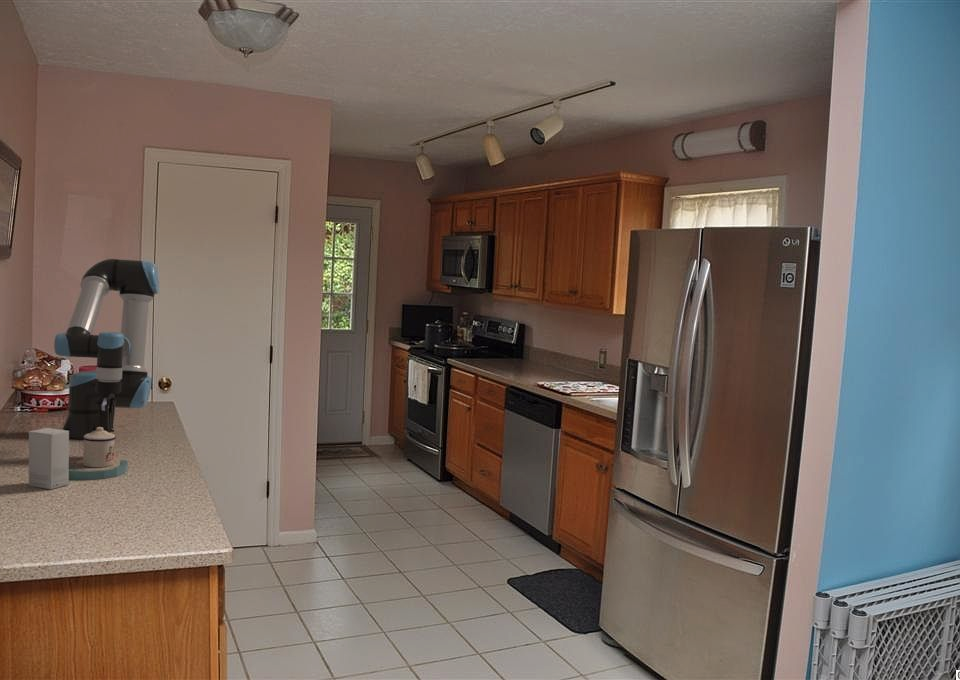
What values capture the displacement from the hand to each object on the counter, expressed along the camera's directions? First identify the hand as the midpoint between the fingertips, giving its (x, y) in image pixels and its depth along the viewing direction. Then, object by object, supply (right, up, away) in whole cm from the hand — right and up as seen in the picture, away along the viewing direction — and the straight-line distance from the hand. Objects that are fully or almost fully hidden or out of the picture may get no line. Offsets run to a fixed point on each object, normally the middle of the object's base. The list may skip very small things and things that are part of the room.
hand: (105, 452), depth 256 cm
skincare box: (+1, -4, -36) cm, 36 cm away
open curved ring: (+4, -3, -20) cm, 21 cm away
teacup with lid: (+2, -2, -8) cm, 8 cm away
